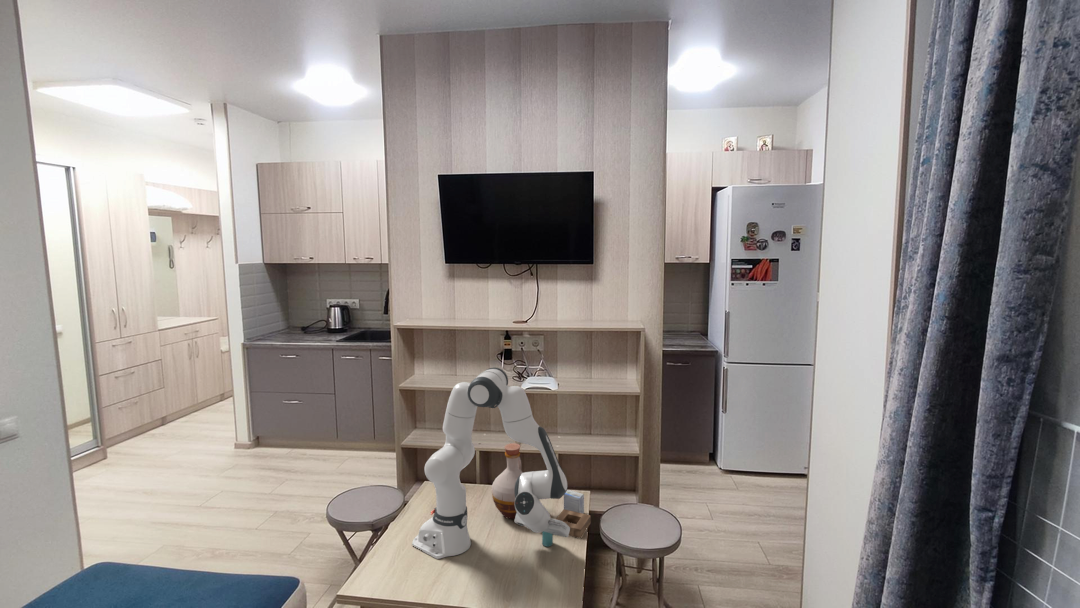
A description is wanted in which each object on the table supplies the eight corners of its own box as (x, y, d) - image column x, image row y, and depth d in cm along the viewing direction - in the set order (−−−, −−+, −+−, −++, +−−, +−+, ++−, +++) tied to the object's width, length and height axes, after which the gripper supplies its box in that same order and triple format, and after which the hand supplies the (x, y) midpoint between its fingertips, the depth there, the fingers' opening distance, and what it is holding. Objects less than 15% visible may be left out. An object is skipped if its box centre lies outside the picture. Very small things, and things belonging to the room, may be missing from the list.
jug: (501, 499, 215) (501, 435, 213) (539, 505, 210) (539, 439, 208) (485, 521, 196) (484, 451, 194) (526, 528, 191) (526, 456, 189)
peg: (540, 544, 179) (540, 524, 178) (544, 539, 182) (545, 519, 182) (550, 547, 177) (550, 527, 176) (554, 542, 181) (554, 521, 180)
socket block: (552, 531, 189) (552, 522, 188) (563, 517, 200) (563, 509, 199) (580, 538, 184) (580, 529, 183) (590, 523, 195) (590, 515, 194)
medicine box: (584, 513, 203) (584, 493, 202) (579, 517, 199) (579, 498, 199) (568, 508, 207) (568, 489, 207) (563, 512, 203) (563, 493, 203)
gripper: (566, 516, 168) (575, 528, 177) (516, 503, 176) (527, 516, 186) (561, 534, 164) (571, 546, 174) (510, 520, 173) (522, 533, 182)
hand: (548, 530), depth 180 cm, fingers closed on peg, 4 cm apart
